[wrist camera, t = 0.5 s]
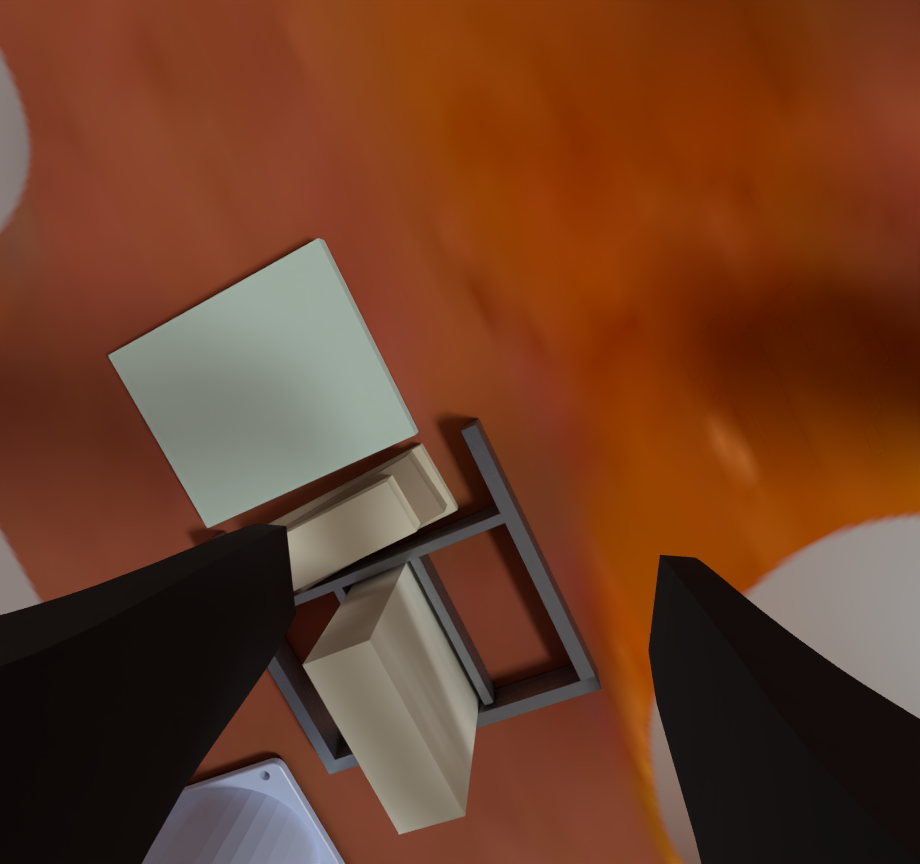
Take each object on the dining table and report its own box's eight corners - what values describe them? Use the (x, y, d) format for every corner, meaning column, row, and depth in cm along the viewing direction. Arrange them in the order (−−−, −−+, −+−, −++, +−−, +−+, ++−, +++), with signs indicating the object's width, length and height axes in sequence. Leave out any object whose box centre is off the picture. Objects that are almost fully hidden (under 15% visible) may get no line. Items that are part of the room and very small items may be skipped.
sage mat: (215, 522, 23) (207, 528, 23) (118, 354, 22) (107, 355, 21) (418, 431, 21) (415, 434, 21) (324, 240, 20) (318, 238, 19)
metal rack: (338, 753, 25) (329, 774, 24) (213, 536, 23) (197, 548, 22) (597, 669, 23) (601, 688, 21) (478, 418, 21) (475, 424, 20)
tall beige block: (430, 708, 24) (399, 834, 18) (358, 575, 23) (302, 664, 17) (480, 691, 24) (465, 815, 18) (409, 555, 23) (369, 640, 17)
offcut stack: (303, 579, 24) (279, 608, 22) (267, 522, 23) (239, 546, 21) (459, 503, 22) (451, 526, 20) (423, 440, 22) (411, 456, 19)
